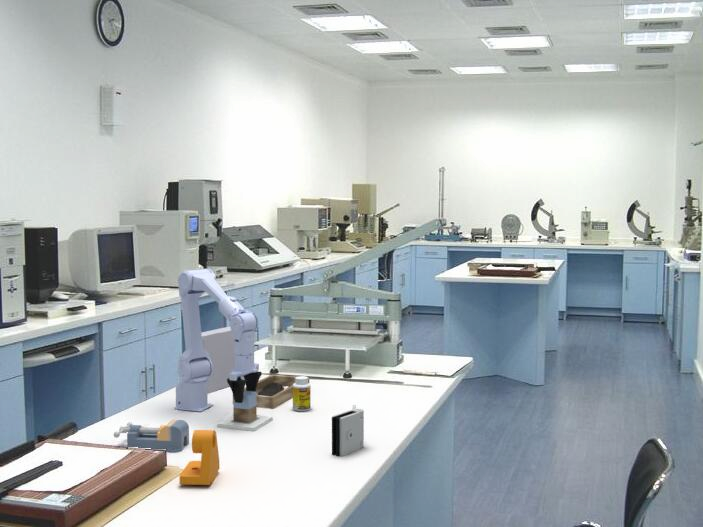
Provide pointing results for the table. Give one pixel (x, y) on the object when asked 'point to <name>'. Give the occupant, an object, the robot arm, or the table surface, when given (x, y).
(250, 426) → the board
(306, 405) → the supplement bottle
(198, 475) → the bracket
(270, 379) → the plank frame
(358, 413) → the hinge
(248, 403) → the blue block
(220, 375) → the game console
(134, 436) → the vise
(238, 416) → the walnut block
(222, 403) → the table surface
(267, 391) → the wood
